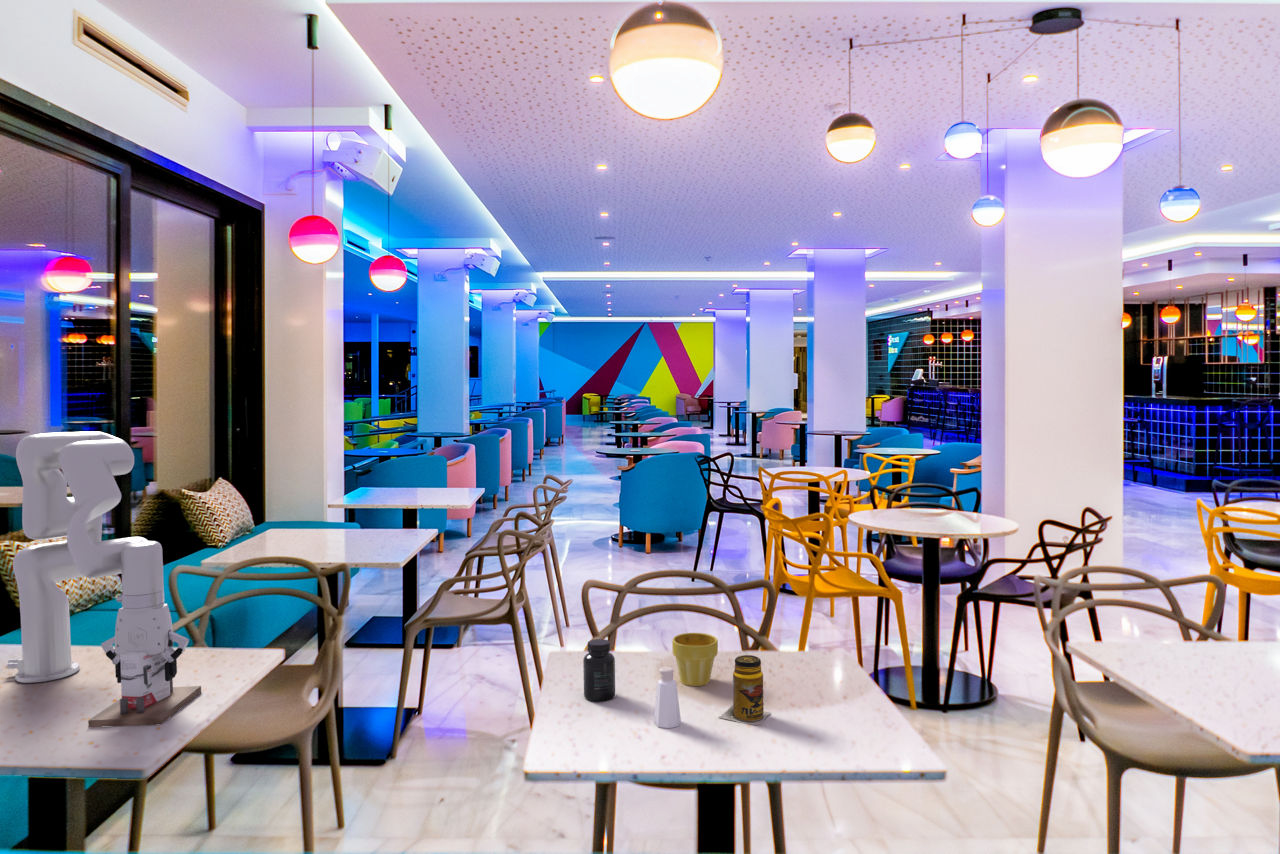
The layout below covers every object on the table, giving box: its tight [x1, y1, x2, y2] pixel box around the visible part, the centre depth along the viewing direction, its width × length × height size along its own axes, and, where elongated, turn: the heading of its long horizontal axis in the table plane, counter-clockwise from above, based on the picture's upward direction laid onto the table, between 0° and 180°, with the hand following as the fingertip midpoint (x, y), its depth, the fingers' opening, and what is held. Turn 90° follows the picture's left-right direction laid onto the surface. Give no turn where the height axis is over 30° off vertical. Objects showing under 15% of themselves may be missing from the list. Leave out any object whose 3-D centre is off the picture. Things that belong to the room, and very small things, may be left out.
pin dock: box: [87, 678, 202, 728], centre depth 175 cm, size 14×18×4 cm
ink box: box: [120, 652, 170, 709], centre depth 175 cm, size 9×5×12 cm, turn 171°
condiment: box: [718, 654, 772, 726], centre depth 167 cm, size 7×8×12 cm
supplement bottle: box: [582, 638, 616, 703], centre depth 178 cm, size 7×7×12 cm
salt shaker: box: [653, 666, 682, 729], centre depth 163 cm, size 5×5×11 cm
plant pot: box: [671, 632, 719, 687], centre depth 187 cm, size 10×10×10 cm
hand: (146, 679), depth 175 cm, fingers open, 9 cm apart
